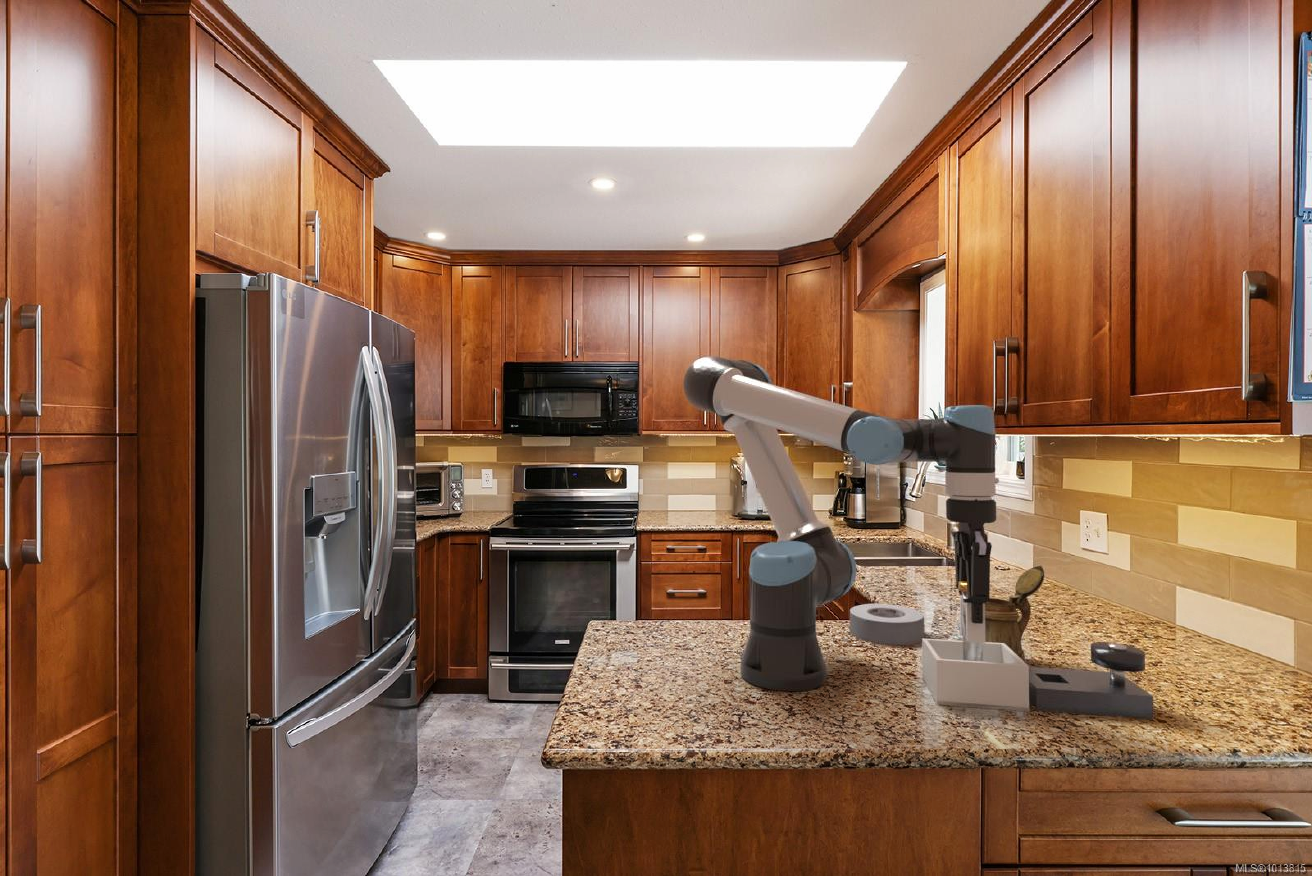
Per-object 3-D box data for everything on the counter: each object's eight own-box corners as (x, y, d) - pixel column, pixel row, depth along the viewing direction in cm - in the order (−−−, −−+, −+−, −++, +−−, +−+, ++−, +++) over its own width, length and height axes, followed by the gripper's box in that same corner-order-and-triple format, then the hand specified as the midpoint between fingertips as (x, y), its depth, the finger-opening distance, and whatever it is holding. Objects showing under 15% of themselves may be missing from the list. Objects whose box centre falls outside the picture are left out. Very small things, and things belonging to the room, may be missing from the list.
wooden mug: (1059, 666, 118) (1058, 570, 118) (989, 667, 117) (988, 571, 117) (1028, 650, 127) (1027, 561, 127) (963, 652, 126) (962, 562, 126)
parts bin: (937, 704, 100) (936, 660, 101) (922, 678, 112) (922, 638, 112) (1029, 711, 98) (1028, 665, 98) (1004, 684, 109) (1004, 643, 109)
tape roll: (875, 648, 129) (875, 624, 129) (836, 627, 143) (836, 605, 144) (940, 643, 132) (939, 619, 132) (896, 623, 147) (895, 601, 147)
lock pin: (963, 671, 103) (962, 585, 103) (957, 663, 107) (955, 580, 107) (989, 673, 102) (988, 586, 102) (982, 665, 106) (981, 581, 106)
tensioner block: (1036, 710, 98) (1036, 649, 98) (1014, 686, 108) (1013, 631, 108) (1161, 720, 95) (1160, 657, 95) (1126, 694, 104) (1125, 637, 104)
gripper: (1011, 502, 96) (1014, 655, 96) (980, 494, 112) (982, 626, 112) (959, 501, 98) (961, 652, 98) (935, 493, 114) (937, 624, 113)
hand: (972, 638), depth 105 cm, fingers closed on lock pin, 3 cm apart
